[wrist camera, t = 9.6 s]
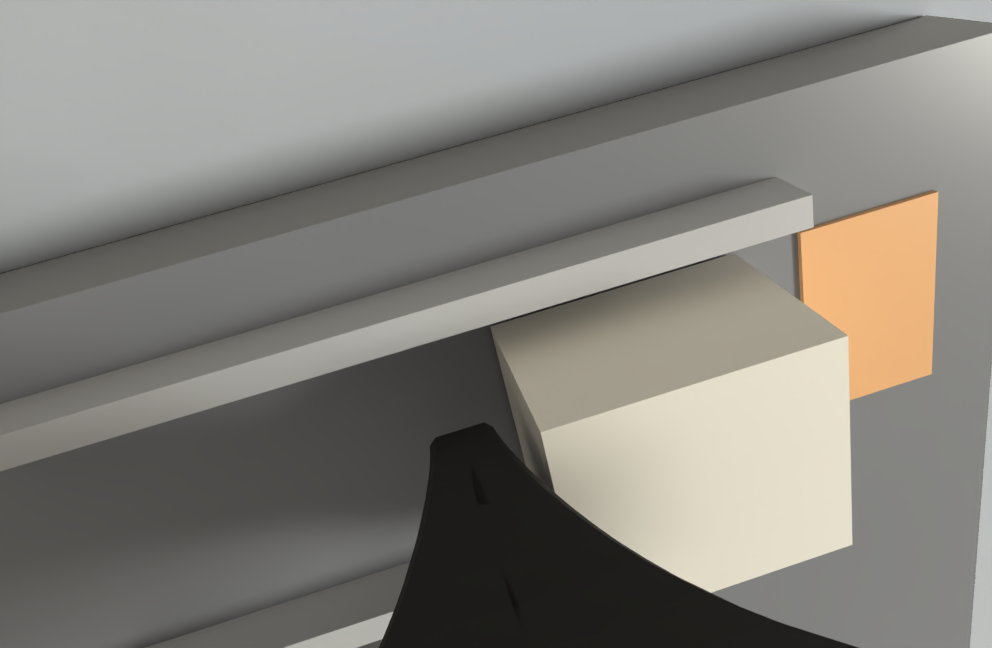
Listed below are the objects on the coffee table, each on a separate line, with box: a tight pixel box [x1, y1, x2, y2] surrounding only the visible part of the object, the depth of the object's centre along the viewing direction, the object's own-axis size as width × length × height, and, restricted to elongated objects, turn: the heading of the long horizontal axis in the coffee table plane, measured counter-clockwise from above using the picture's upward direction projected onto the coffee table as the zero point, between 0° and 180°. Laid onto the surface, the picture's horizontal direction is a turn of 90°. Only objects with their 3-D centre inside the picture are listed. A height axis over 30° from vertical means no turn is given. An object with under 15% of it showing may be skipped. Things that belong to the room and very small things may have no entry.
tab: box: [490, 253, 852, 593], centre depth 12 cm, size 4×4×3 cm
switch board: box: [0, 16, 992, 648], centre depth 15 cm, size 14×20×3 cm
